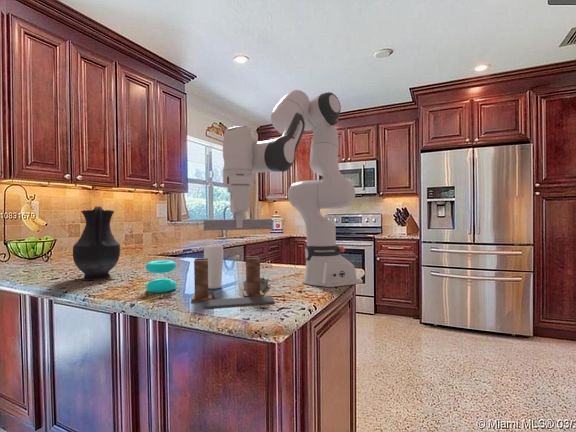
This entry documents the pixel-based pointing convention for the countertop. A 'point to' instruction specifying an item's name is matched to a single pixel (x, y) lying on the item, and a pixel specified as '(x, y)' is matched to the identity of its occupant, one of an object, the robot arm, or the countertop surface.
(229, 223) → the rail
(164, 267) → the donuts
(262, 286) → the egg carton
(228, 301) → the grey flat bar
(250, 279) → the post
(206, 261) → the post
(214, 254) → the drinking glass
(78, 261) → the pitcher
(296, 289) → the countertop surface
